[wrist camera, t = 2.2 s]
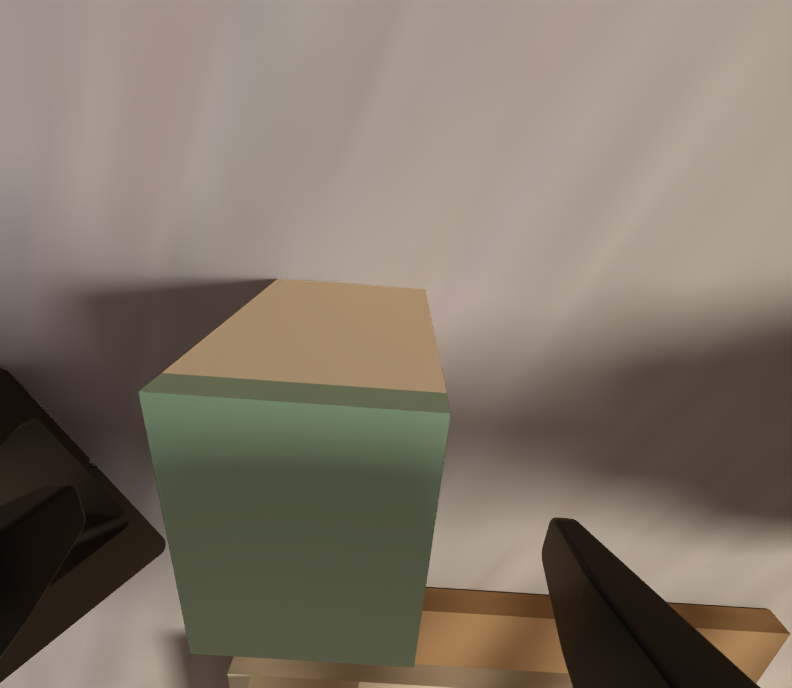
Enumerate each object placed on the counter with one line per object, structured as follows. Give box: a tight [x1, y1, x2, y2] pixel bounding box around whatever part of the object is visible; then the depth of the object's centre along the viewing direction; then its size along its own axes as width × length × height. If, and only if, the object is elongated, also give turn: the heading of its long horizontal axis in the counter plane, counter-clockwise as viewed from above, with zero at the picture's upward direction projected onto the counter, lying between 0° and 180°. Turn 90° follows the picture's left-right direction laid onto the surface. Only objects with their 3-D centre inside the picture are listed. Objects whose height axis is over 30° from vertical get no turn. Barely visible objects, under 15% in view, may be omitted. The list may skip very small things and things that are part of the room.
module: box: [139, 279, 451, 668], centre depth 10 cm, size 4×6×7 cm
